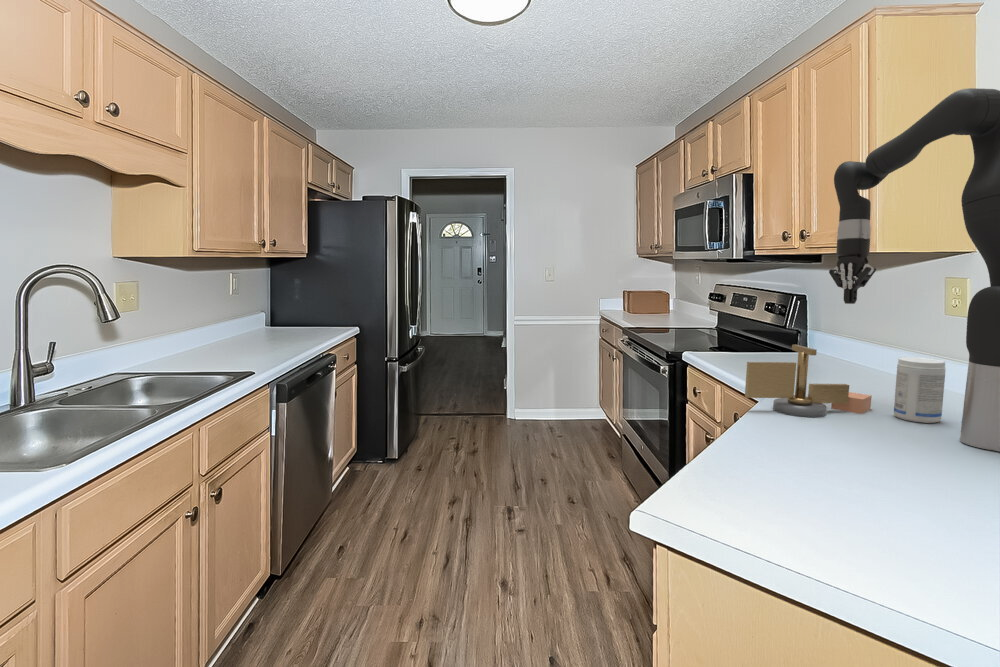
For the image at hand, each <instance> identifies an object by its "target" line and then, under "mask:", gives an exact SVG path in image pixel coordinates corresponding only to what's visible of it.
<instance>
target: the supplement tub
mask: <svg viewBox="0 0 1000 667" xmlns="http://www.w3.org/2000/svg"><path fill="white" fill-rule="evenodd" d="M895 376H896V378H895V388H894V391H895V392H894V404H893V405H894V406H893V415H894V417H896V418H898V419H901V420H904V421H907V422H915V423H923V424H934V423H939V422H940V421H941V420H942V417H943V405H944V404H943V403H944V392H945V382H946V361H945V360H942V359H938V358H937V359H936V358H930V357H929V358H928V357H917V356H916V357H915V356H903V357H899V358H898V360H897V366H896V375H895Z"/></svg>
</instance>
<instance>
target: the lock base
mask: <svg viewBox="0 0 1000 667" xmlns="http://www.w3.org/2000/svg"><path fill="white" fill-rule="evenodd" d="M787 400H788V398H774V400H773V405H772V409H773V410H774V411H775V412H777V413H780V414H784V415H789V416H794V417H802V418H803V417H804V418H821V417H824V416H827V405H826V403H812V404H811V405H799V404H793V403H790V402H788V401H787Z"/></svg>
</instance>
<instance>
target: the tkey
mask: <svg viewBox="0 0 1000 667" xmlns="http://www.w3.org/2000/svg"><path fill="white" fill-rule="evenodd" d="M791 350H792V351H794V352H797V362H794V361H793V362H792V361H787V362H785V361H747V362H746V372H745V373H746V375H745V388H744V397H745V398H746V399H766V398H767V399H778V398H788V400H787V401H788V402H790V403H793V404H799V405H811V404H812V403H822V404H832V403H848V396H849V392H850V385H849V384H847V383H808V380H807V379H808V370H809V357H810V356H817V353H818V352H817V350H818V349H815V348H811V347H807V346H803V345H799V344H792V345H791ZM807 383H808V394H807ZM806 394H807V396H806Z"/></svg>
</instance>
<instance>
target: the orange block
mask: <svg viewBox="0 0 1000 667" xmlns="http://www.w3.org/2000/svg"><path fill="white" fill-rule="evenodd" d="M830 404H831V405H830V409H832V410H838V411H843V412H847V413H849V412H850V413H854V414H858V415H859V414H860V415H862V414H865V413H866V412H868V411H871V407H872V395H870V394H863V393H859V392H858V393H857V392H853V391H849V396H848V403H830Z"/></svg>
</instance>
